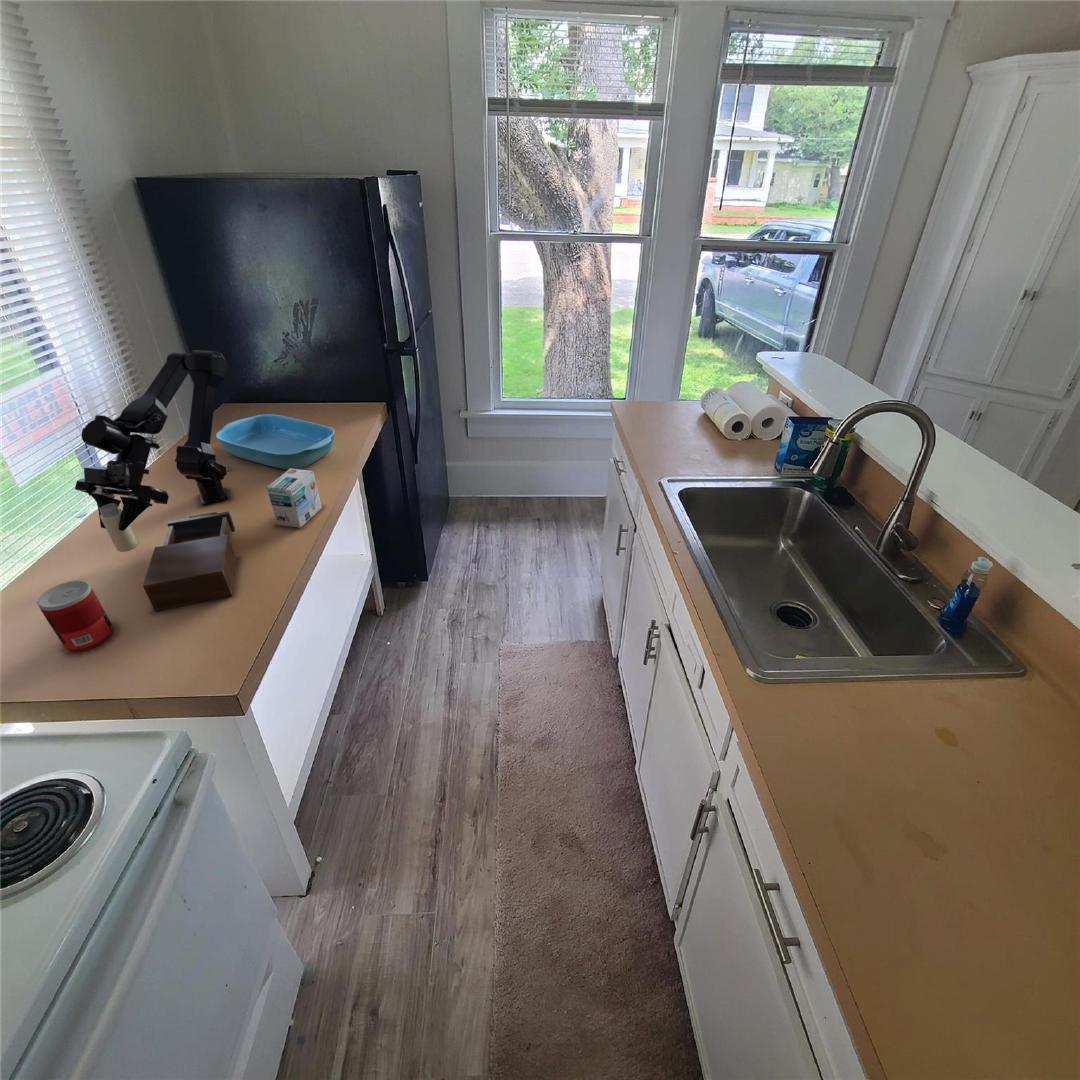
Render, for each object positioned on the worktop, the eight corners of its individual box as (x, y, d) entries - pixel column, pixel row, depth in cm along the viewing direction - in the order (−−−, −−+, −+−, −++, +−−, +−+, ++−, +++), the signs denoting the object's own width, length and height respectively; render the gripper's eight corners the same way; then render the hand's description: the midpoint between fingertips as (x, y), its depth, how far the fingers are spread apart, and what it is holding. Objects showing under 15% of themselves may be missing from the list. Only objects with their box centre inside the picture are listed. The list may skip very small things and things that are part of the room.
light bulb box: (301, 528, 142) (290, 490, 136) (276, 525, 143) (264, 487, 137) (323, 506, 150) (314, 470, 144) (299, 504, 151) (289, 467, 145)
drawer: (178, 530, 139) (170, 512, 137) (236, 520, 143) (230, 503, 140) (167, 571, 126) (158, 552, 123) (231, 559, 130) (225, 540, 127)
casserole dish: (353, 449, 179) (349, 428, 175) (301, 480, 162) (295, 458, 158) (264, 429, 191) (258, 409, 187) (207, 456, 175) (200, 434, 171)
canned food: (124, 629, 112) (99, 584, 106) (85, 657, 106) (57, 612, 99) (95, 620, 114) (69, 576, 108) (55, 647, 108) (25, 602, 101)
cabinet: (166, 571, 127) (154, 547, 123) (236, 558, 131) (227, 534, 127) (155, 612, 116) (142, 586, 112) (232, 596, 120) (222, 570, 116)
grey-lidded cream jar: (124, 541, 131) (104, 502, 125) (142, 541, 131) (123, 502, 125) (112, 551, 128) (91, 512, 122) (131, 552, 128) (111, 512, 122)
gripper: (61, 444, 122) (40, 516, 119) (137, 452, 119) (117, 526, 116) (107, 461, 132) (88, 527, 130) (178, 469, 129) (160, 536, 127)
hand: (112, 529), depth 125 cm, fingers closed on grey-lidded cream jar, 4 cm apart
